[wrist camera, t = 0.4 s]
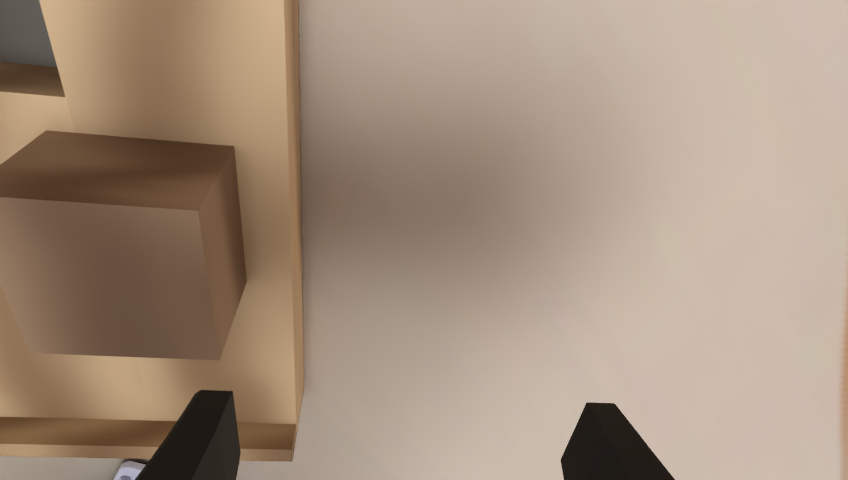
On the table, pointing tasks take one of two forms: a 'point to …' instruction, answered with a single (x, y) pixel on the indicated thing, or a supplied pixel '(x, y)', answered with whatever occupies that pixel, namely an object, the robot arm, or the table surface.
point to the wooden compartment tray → (173, 121)
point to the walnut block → (122, 245)
